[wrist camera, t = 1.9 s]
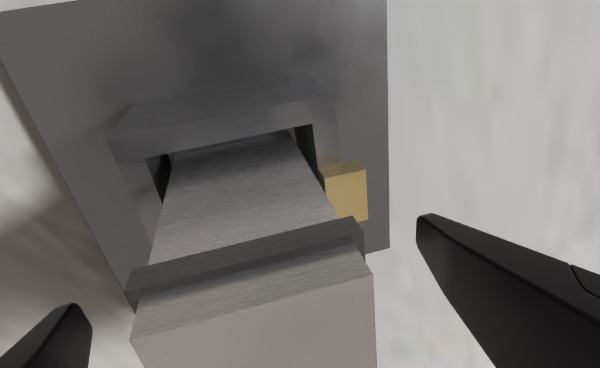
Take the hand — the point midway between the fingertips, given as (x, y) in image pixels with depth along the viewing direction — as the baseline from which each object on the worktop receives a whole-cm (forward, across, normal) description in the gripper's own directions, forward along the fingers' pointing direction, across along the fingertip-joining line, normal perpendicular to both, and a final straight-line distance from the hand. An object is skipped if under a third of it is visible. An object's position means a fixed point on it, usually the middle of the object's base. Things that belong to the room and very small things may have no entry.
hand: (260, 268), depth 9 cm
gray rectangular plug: (+7, 0, 0) cm, 7 cm away
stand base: (+8, 0, 0) cm, 8 cm away
